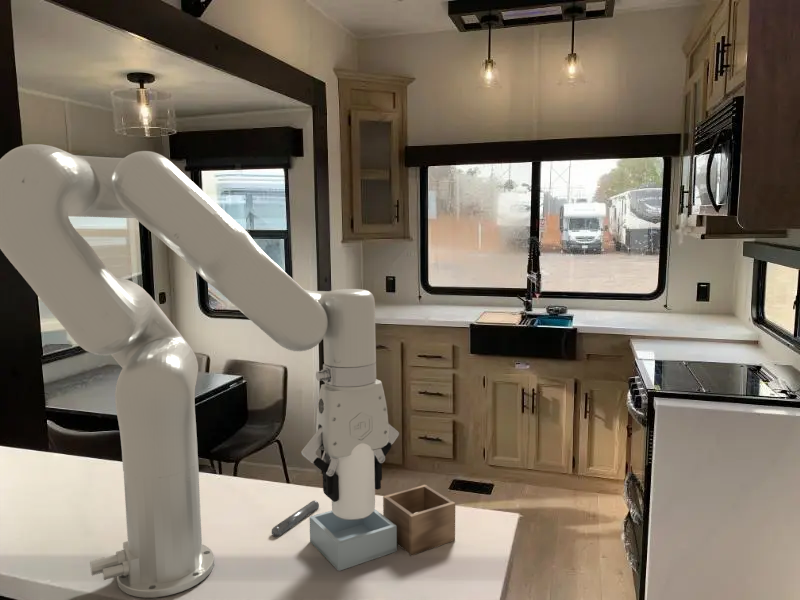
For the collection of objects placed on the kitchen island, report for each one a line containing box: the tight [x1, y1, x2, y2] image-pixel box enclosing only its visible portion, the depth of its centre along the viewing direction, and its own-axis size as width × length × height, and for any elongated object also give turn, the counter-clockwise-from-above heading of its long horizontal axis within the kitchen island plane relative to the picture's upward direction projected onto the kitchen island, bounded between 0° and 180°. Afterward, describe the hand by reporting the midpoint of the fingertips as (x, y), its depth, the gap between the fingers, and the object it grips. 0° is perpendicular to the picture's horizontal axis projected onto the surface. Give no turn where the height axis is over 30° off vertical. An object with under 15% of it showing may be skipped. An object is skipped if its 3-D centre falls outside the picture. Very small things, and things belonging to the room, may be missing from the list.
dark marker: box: [271, 500, 320, 538], centre depth 99 cm, size 12×2×2 cm, turn 153°
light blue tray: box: [309, 509, 398, 572], centre depth 91 cm, size 10×10×4 cm
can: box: [331, 438, 376, 520], centre depth 90 cm, size 6×6×12 cm
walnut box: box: [382, 484, 456, 556], centre depth 94 cm, size 8×8×6 cm
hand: (353, 491), depth 90 cm, fingers closed on can, 6 cm apart
